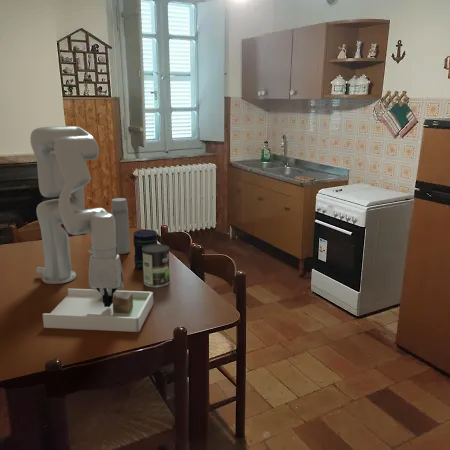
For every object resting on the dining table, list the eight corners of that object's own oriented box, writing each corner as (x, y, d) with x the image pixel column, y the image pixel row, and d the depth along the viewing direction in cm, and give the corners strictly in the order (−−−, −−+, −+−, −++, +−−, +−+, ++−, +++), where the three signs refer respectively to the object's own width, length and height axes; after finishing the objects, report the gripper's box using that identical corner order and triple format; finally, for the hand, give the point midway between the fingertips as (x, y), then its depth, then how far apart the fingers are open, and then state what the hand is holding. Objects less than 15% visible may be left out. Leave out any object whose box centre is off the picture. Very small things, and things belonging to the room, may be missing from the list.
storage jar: (160, 263, 193) (159, 230, 189) (155, 271, 184) (153, 236, 180) (138, 262, 194) (136, 229, 190) (131, 270, 185) (129, 236, 181)
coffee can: (173, 278, 177) (172, 244, 173) (165, 288, 167) (164, 253, 163) (149, 276, 179) (147, 242, 175) (139, 286, 169) (137, 251, 165)
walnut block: (113, 312, 143) (112, 298, 141) (118, 305, 148) (117, 291, 146) (128, 313, 142) (127, 299, 141) (132, 306, 147) (132, 292, 146)
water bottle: (122, 248, 211) (119, 197, 204) (134, 251, 207) (131, 199, 200) (107, 253, 204) (103, 200, 197) (118, 257, 200) (115, 203, 193)
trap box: (44, 327, 138) (42, 314, 137) (69, 300, 157) (68, 288, 156) (138, 331, 136) (138, 318, 135) (153, 303, 155) (153, 291, 154)
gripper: (76, 255, 137) (81, 309, 142) (124, 257, 136) (127, 311, 141) (86, 247, 144) (90, 299, 149) (131, 249, 143) (134, 301, 148)
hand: (108, 305), depth 145 cm, fingers closed
